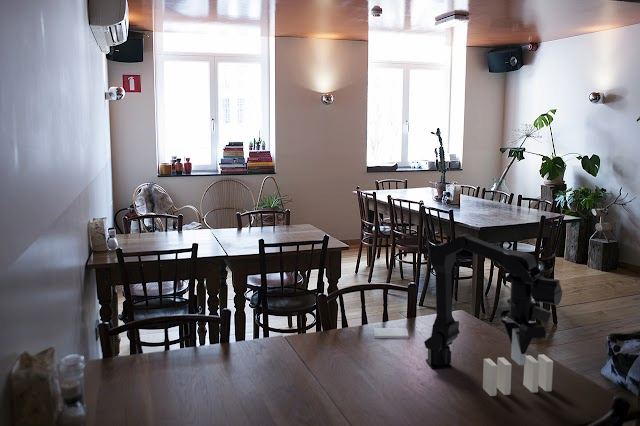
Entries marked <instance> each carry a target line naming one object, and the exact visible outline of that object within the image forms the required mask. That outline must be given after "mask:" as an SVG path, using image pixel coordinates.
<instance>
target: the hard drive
mask: <svg viewBox="0 0 640 426" xmlns="http://www.w3.org/2000/svg"><path fill="white" fill-rule="evenodd" d="M372 329H374V331H373V338H374V339H375V338H389V339H390V338H391V340H393V338H394V340H396V339H397V340H398V339H399V340H401V339H402V340H406V339H407V340H408V339H410V337H409V336H410V335H409V331H408V329H407V328H403V327H402V328H396V327H393V328H392V327H391V328H390V327H388V328H387V327H373V328H372Z"/></svg>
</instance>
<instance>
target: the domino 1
mask: <svg viewBox="0 0 640 426" xmlns="http://www.w3.org/2000/svg"><path fill="white" fill-rule="evenodd" d="M482 367H483V368H482V369H483V371H482V373H483V374H482V388H483V390H484V391H485V392H486V393H487V394H488V395H489V396H490V397H496V396H497V391H498V390H497V389H498V388H497V363H495V362H494V361H493V360H492V359H491V358H483V366H482Z"/></svg>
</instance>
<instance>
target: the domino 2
mask: <svg viewBox="0 0 640 426" xmlns="http://www.w3.org/2000/svg"><path fill="white" fill-rule="evenodd" d="M496 360H497V363H496V365H497V389H498V390H499V391H500V392H501V393H502V394H503V395H504V396H508V395H511V387H512V386H511V385H512V363H510V362H509V361H508V360H507V359H506V358H505V357H497V359H496Z"/></svg>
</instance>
